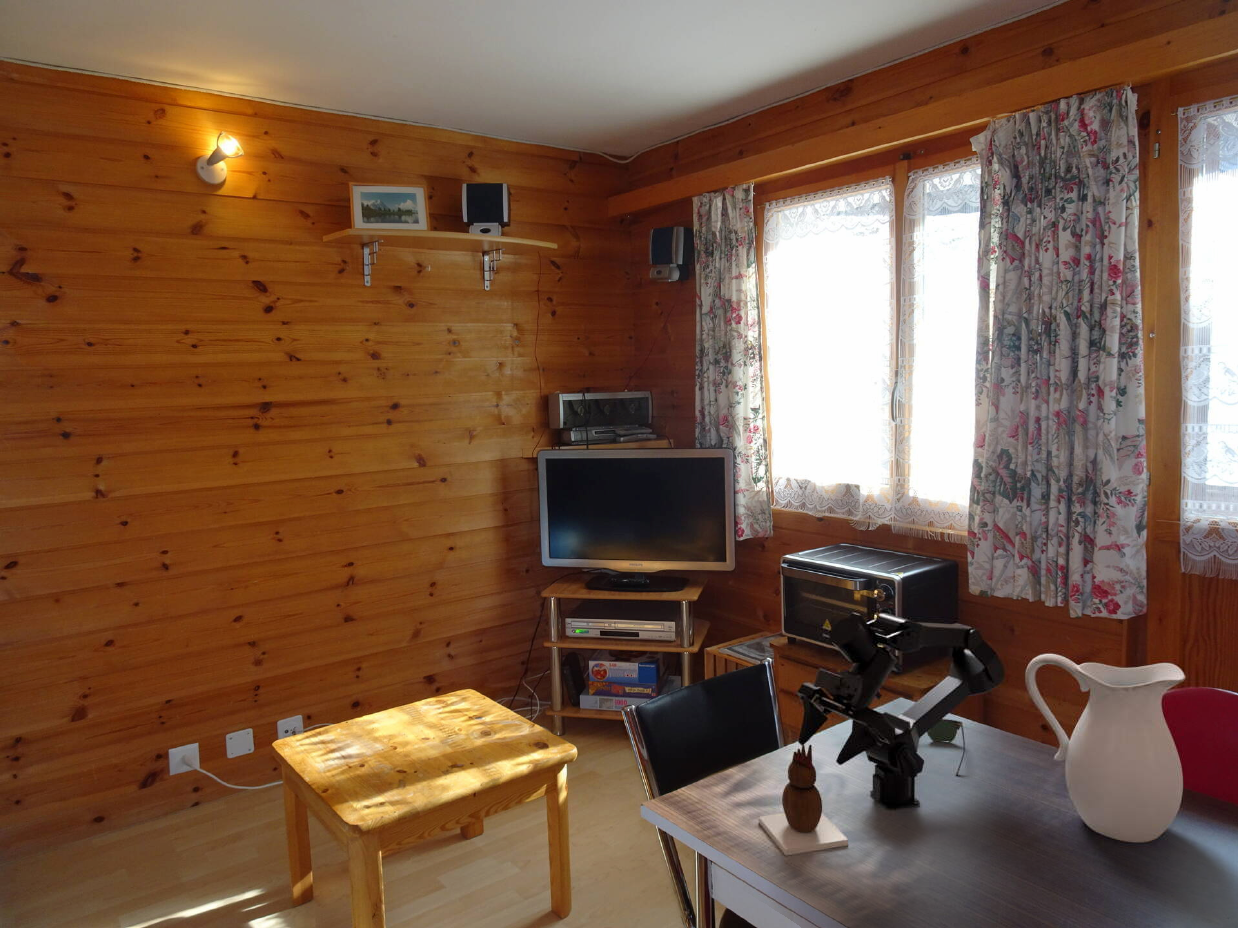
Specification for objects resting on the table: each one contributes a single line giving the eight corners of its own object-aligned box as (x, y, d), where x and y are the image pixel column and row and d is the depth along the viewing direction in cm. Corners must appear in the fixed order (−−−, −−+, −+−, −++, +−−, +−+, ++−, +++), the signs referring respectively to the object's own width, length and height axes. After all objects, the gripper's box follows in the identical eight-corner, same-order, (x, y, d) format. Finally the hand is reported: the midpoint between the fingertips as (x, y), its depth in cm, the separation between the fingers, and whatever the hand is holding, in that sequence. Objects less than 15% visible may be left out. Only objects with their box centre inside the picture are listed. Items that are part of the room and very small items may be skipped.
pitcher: (1190, 822, 147) (1196, 661, 144) (1168, 865, 134) (1174, 690, 132) (1040, 781, 163) (1042, 635, 160) (1007, 815, 151) (1010, 658, 148)
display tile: (817, 813, 153) (817, 807, 153) (848, 844, 142) (848, 839, 142) (758, 822, 150) (758, 816, 150) (785, 855, 140) (785, 849, 140)
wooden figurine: (827, 833, 144) (827, 746, 143) (796, 839, 142) (795, 751, 141) (808, 814, 151) (807, 731, 149) (777, 820, 149) (776, 735, 148)
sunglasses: (883, 772, 169) (883, 747, 168) (879, 737, 185) (879, 714, 185) (974, 779, 165) (974, 754, 165) (961, 742, 181) (962, 719, 181)
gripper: (804, 638, 156) (756, 710, 152) (883, 666, 140) (832, 748, 136) (837, 672, 161) (791, 743, 156) (917, 703, 145) (869, 783, 140)
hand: (818, 753), depth 147 cm, fingers open, 9 cm apart
